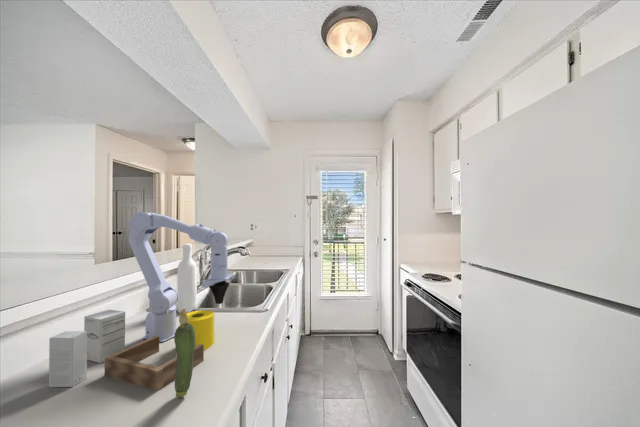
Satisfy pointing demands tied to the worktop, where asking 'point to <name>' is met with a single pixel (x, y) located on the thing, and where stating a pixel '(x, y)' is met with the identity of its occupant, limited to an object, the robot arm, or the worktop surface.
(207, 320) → the tape roll
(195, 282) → the bottle
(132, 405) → the worktop surface
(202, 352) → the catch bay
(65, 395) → the worktop surface
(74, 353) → the skincare box
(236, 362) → the worktop surface
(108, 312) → the supplement box
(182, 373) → the vegetable
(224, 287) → the robot arm
